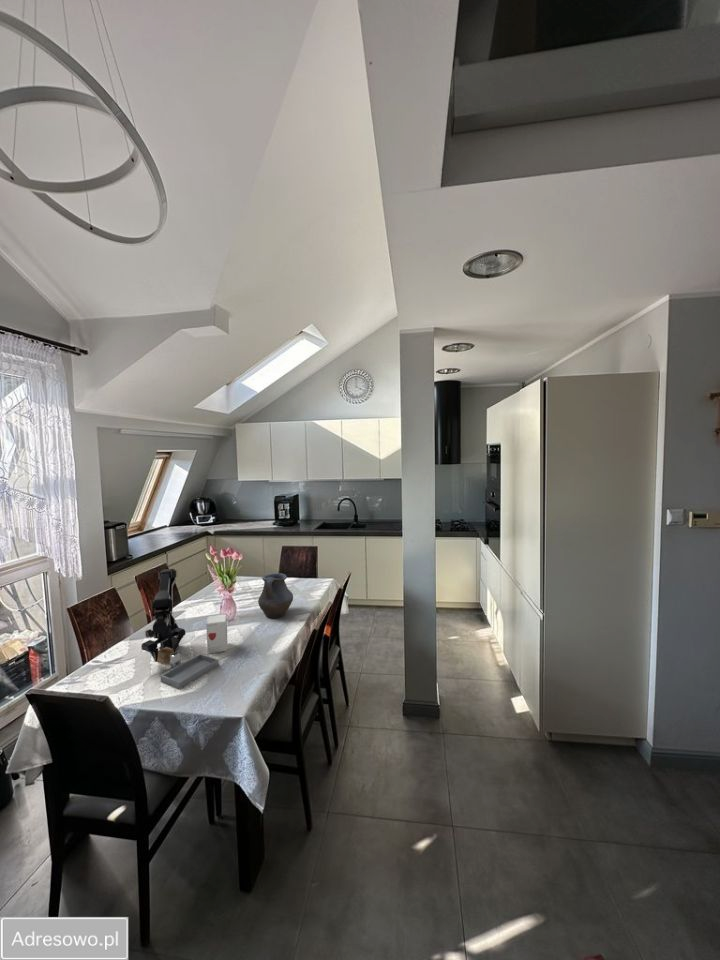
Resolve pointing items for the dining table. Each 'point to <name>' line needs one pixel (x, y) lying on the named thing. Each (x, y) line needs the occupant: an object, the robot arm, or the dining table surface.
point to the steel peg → (175, 660)
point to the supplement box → (216, 633)
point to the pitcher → (275, 596)
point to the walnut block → (164, 655)
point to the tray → (189, 671)
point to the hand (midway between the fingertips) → (165, 656)
